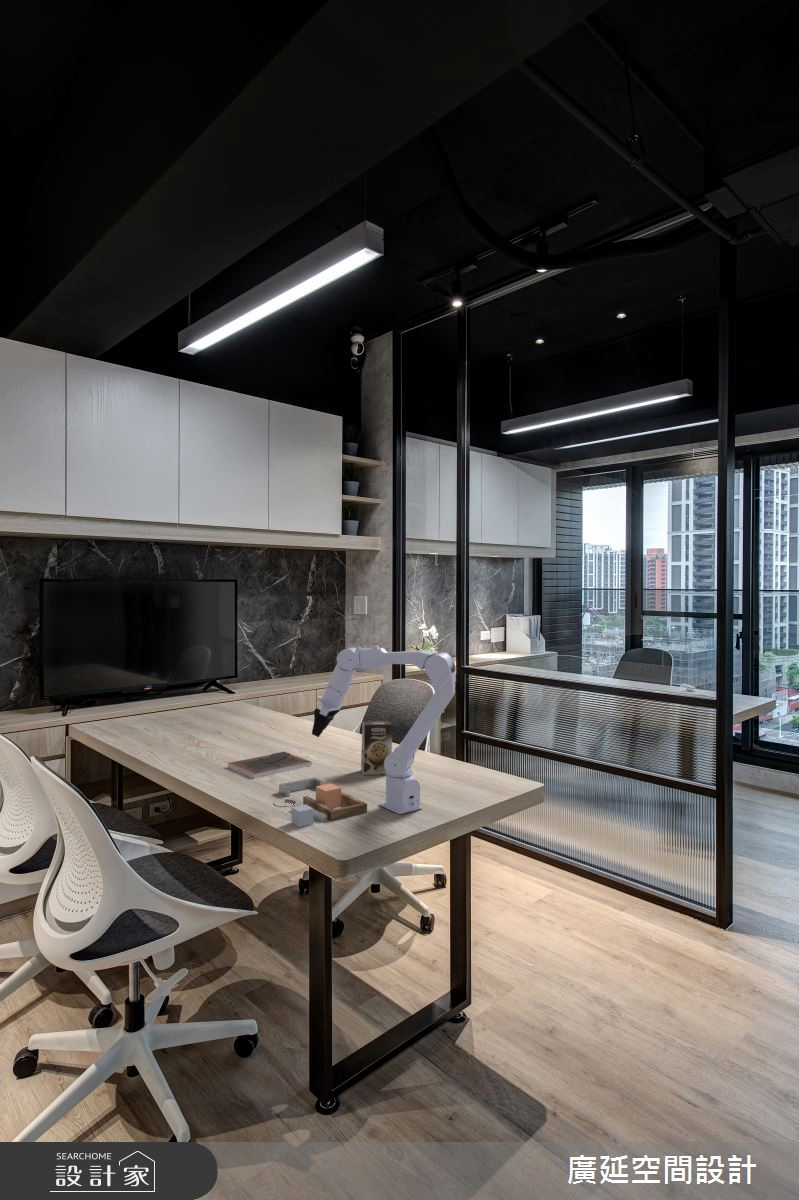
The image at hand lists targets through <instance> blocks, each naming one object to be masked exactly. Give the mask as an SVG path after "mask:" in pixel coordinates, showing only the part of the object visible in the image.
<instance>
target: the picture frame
mask: <svg viewBox="0 0 799 1200" xmlns="http://www.w3.org/2000/svg"><path fill="white" fill-rule="evenodd" d="M311 765H312V766H313V761H311V760H309V759H308V760H307V759H305V758H302V757H299V756H297V755H294V754H292V753H289V752H286V751H281V752H274V753H271V754H268V755H262V756H256V757H251V758H246V759H242V760H241V759H240V760H237V761H231V762H227V767H228V769H230V768H231V770H233V771H235V770H236V771H235V772H238V773H240V772H241V773H240V774H242V773H243V775H245V776H247V775H248V776H247V777H249V776H250V778H252V779H254V778H256V779H260V778H259V777H261V778H264V776H265V777H269V776H268V775H270V776H274V775H277V774H276V773H279V774H282V773H281V772H283V773H286V772H285V771H288V772H291V771H290V770H293V771H296V770H295V769H297V770H300V769H299V768H302V769H304V768H303V767H306V768H308V767H307V766H311ZM312 766H311V767H312ZM273 774H274V775H273Z"/></svg>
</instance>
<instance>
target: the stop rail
mask: <svg viewBox="0 0 799 1200" xmlns="http://www.w3.org/2000/svg"><path fill="white" fill-rule="evenodd" d="M321 785H324V781H323V780H322V779H320V778H318V777H316V776H315V777H310V778H305V779H298V780H295V781H288V782H284V783H280V784H278V793H279V794H281V795H282V794H283V796H284V795H285V796H284V797H286V796H287V797H290V796H291V795H290V793H292V791H293V792H297V790H298V791H303V790H308V789H312V788H311V787H313V788H316V786H321ZM307 788H308V789H307ZM302 789H303V790H302Z"/></svg>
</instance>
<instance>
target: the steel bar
mask: <svg viewBox="0 0 799 1200" xmlns="http://www.w3.org/2000/svg"><path fill="white" fill-rule="evenodd" d="M300 805H302V804H301V803H296V804H295V805H293V806H292V807H295V806H300ZM313 818H314V819H313V820H316V819H317V821H319V820H320V822H321V821H322V822H321V823H324V822H327V821H329V819H328V814H325V813H323V812H320V811H317V810H314V809H313ZM326 820H327V821H326ZM323 821H324V822H323Z"/></svg>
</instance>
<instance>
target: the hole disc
mask: <svg viewBox="0 0 799 1200" xmlns="http://www.w3.org/2000/svg"><path fill="white" fill-rule="evenodd" d="M285 801H286V802H285ZM285 801H284V802H285V803H287V802H288V803H289V802H290V803H291V804H292V803H293V805H294V804H295V803H296V800H294V799H289V798H288V799H287V798H285ZM290 803H289V804H290ZM296 804H297V803H296Z"/></svg>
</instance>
